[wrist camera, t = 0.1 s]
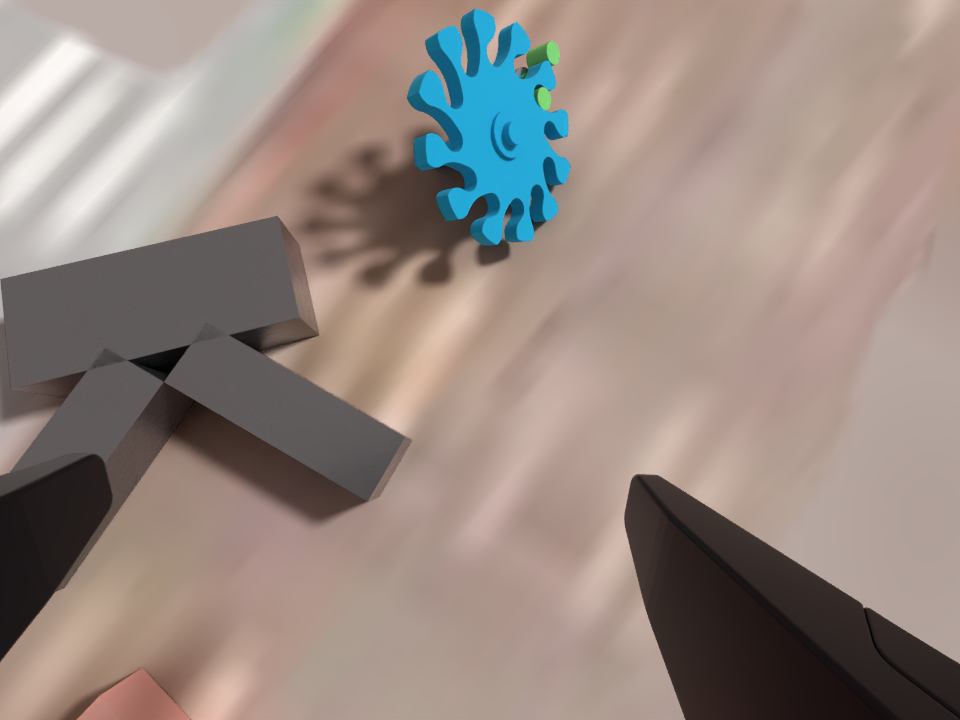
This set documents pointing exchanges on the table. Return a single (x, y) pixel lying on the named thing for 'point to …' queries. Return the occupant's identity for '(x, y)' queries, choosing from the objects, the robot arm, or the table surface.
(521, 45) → the gear
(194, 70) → the table surface
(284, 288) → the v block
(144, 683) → the beam plate
